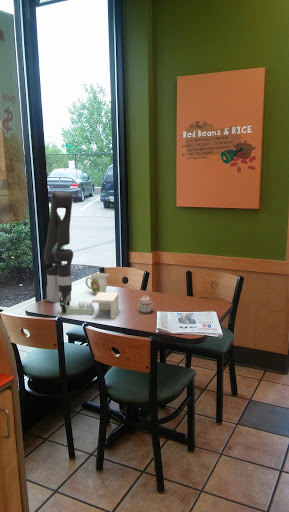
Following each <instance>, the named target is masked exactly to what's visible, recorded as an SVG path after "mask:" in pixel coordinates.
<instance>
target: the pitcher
mask: <svg viewBox="0 0 289 512" xmlns="http://www.w3.org/2000/svg"><path fill="white" fill-rule="evenodd" d="M109 276H110V274H109V273H106V272H105V273H104V272H94V273H91V274H90V276H87V277H85V278H86V279H85V286H86V287H87V288H88V289H89V290H91V291H92V293H93V295H95V296H96V295H97V294H98V293H99V292H107V286H108V284H107V283H108V281H107V277H109ZM89 279H90V285H89V284H88V280H89Z"/></svg>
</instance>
